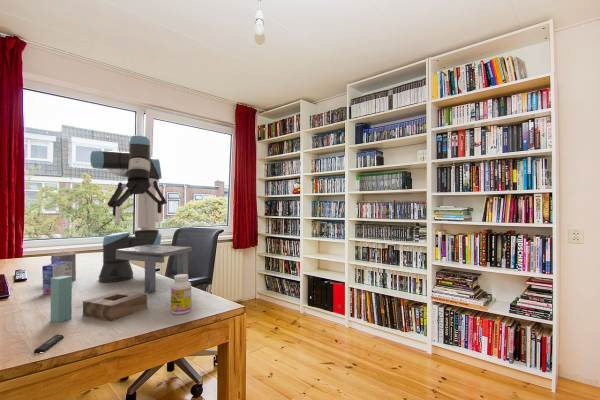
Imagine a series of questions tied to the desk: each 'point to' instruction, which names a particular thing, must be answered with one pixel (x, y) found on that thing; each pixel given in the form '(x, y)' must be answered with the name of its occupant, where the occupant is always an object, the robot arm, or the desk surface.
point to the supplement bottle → (180, 295)
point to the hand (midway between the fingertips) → (137, 222)
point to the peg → (61, 298)
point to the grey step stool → (155, 260)
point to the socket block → (114, 305)
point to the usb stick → (49, 343)
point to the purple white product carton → (67, 260)
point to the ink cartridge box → (55, 273)
